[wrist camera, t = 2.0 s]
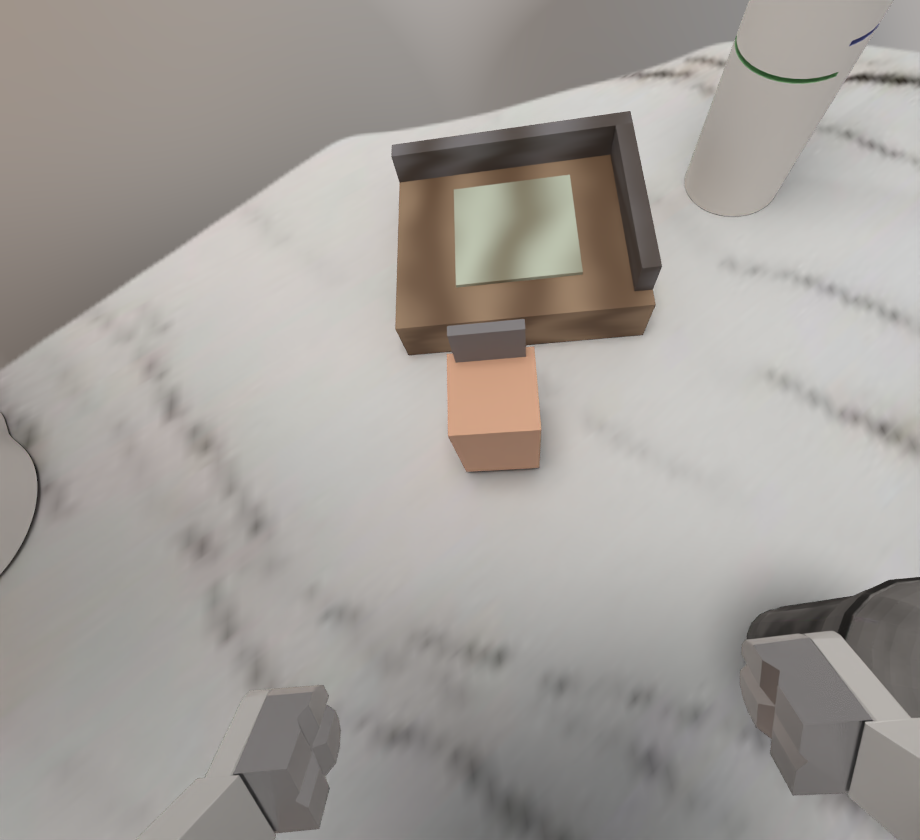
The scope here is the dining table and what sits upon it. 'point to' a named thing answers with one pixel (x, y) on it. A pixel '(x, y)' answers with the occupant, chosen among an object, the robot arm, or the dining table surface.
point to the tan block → (493, 396)
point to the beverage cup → (865, 632)
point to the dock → (525, 233)
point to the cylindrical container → (775, 97)
